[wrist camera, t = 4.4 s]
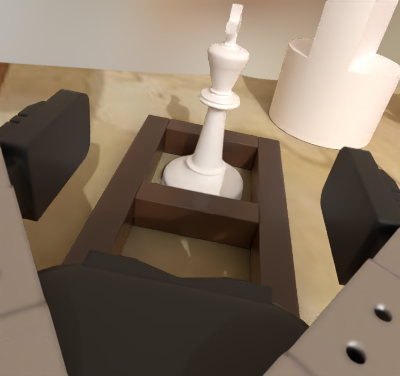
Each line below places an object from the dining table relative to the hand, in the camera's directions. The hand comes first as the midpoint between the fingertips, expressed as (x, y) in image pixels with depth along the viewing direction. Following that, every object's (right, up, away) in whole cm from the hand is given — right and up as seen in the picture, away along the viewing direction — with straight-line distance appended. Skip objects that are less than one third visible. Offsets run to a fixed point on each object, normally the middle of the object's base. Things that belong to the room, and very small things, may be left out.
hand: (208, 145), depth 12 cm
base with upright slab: (+10, +4, +21) cm, 24 cm away
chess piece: (0, -1, +10) cm, 10 cm away
